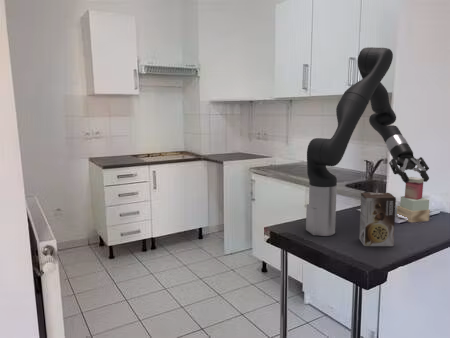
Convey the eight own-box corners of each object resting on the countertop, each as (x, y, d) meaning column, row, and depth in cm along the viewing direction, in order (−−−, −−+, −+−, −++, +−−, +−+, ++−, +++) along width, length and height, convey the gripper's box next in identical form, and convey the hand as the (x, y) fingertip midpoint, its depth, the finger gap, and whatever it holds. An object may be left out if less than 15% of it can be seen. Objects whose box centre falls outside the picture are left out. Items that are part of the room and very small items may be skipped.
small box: (404, 197, 139) (405, 177, 138) (409, 195, 142) (410, 176, 140) (417, 200, 135) (418, 179, 134) (422, 198, 138) (424, 178, 136)
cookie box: (386, 239, 118) (389, 192, 115) (393, 247, 112) (397, 197, 109) (358, 239, 119) (360, 192, 116) (364, 246, 113) (366, 197, 110)
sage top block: (412, 211, 135) (413, 200, 134) (400, 206, 141) (400, 196, 141) (428, 209, 136) (429, 199, 135) (415, 205, 143) (416, 195, 142)
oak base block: (410, 223, 135) (411, 211, 134) (396, 216, 143) (397, 206, 142) (428, 221, 136) (429, 210, 136) (413, 215, 144) (414, 204, 143)
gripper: (388, 143, 140) (406, 176, 131) (419, 141, 143) (439, 174, 134) (378, 154, 146) (395, 187, 137) (409, 153, 149) (427, 185, 140)
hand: (417, 181), depth 136 cm, fingers open, 8 cm apart
